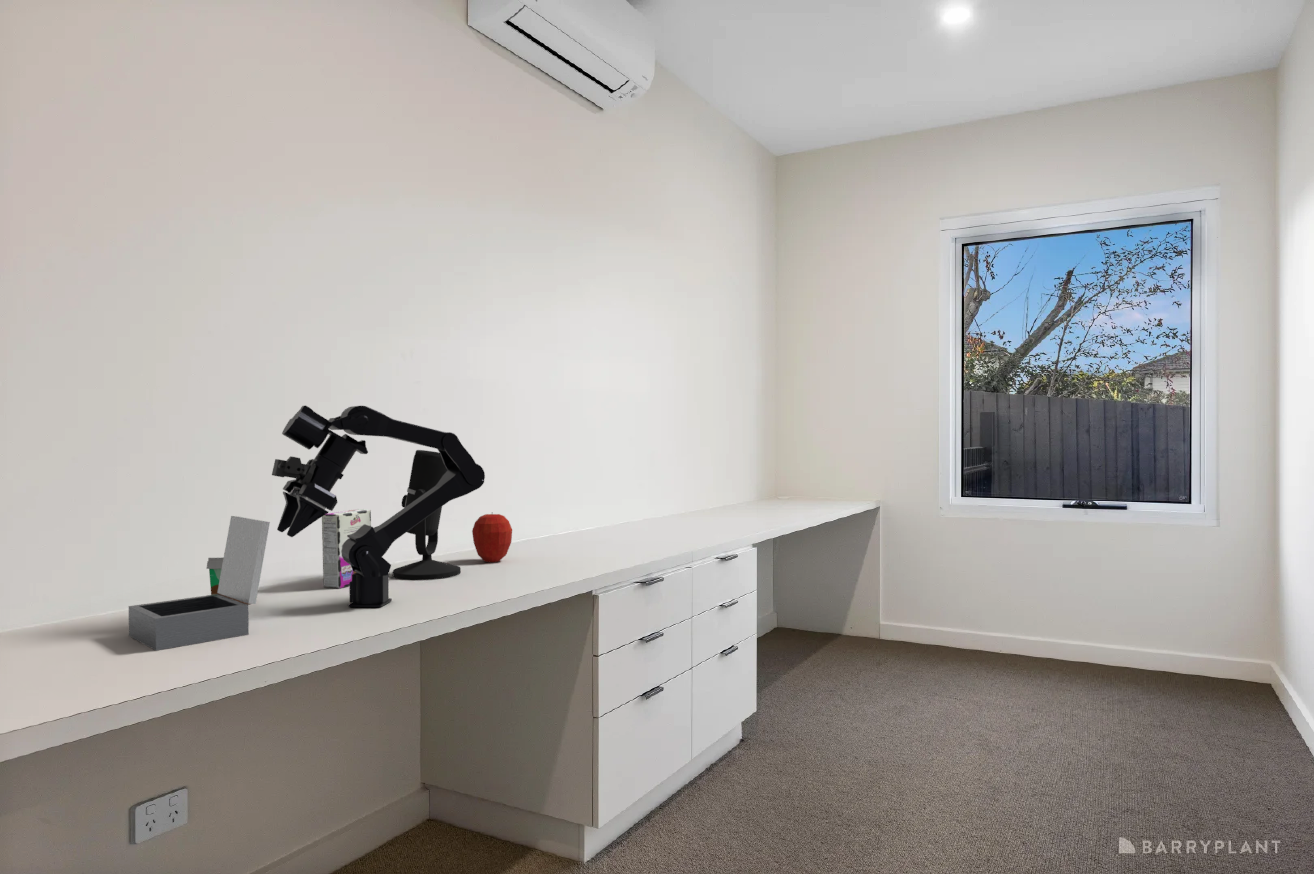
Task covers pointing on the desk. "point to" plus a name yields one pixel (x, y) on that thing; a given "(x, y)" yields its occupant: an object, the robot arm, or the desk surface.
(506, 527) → the apple
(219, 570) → the food container
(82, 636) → the desk surface
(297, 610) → the desk surface
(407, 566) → the microphone
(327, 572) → the candy bar box
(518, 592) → the desk surface
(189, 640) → the grey storage bin
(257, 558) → the lid
